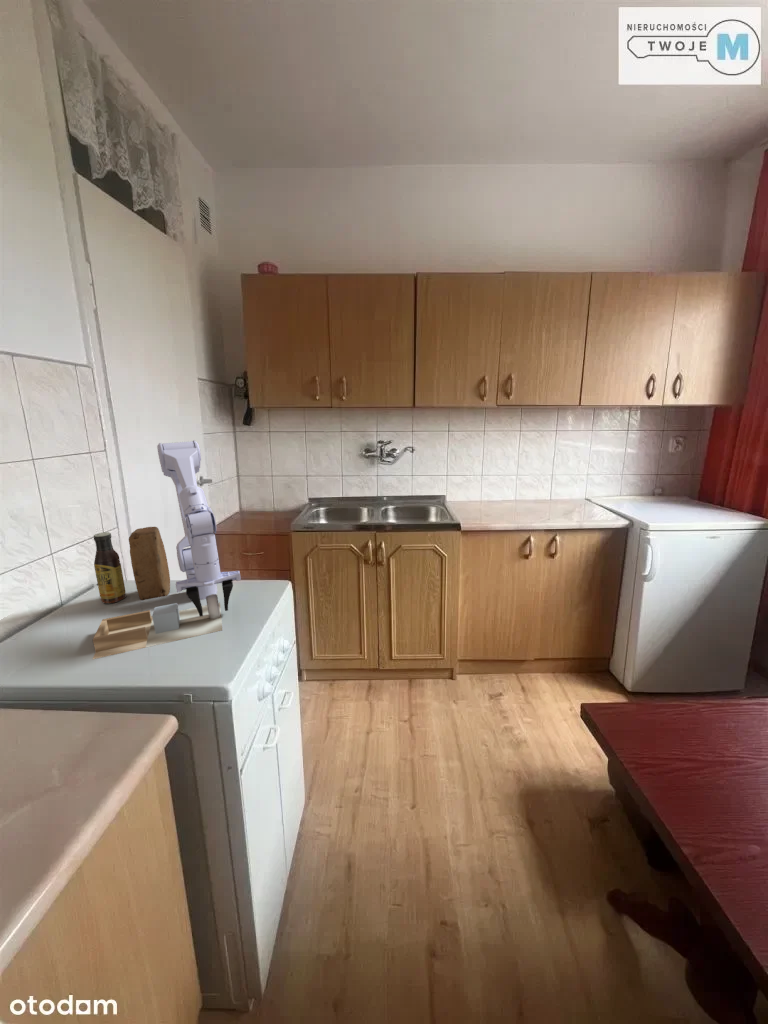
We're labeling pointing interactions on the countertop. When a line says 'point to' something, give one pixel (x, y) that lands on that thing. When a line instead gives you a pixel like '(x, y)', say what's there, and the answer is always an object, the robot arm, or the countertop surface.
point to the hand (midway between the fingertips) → (213, 611)
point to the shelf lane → (147, 631)
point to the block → (149, 563)
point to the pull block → (170, 618)
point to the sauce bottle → (108, 570)
